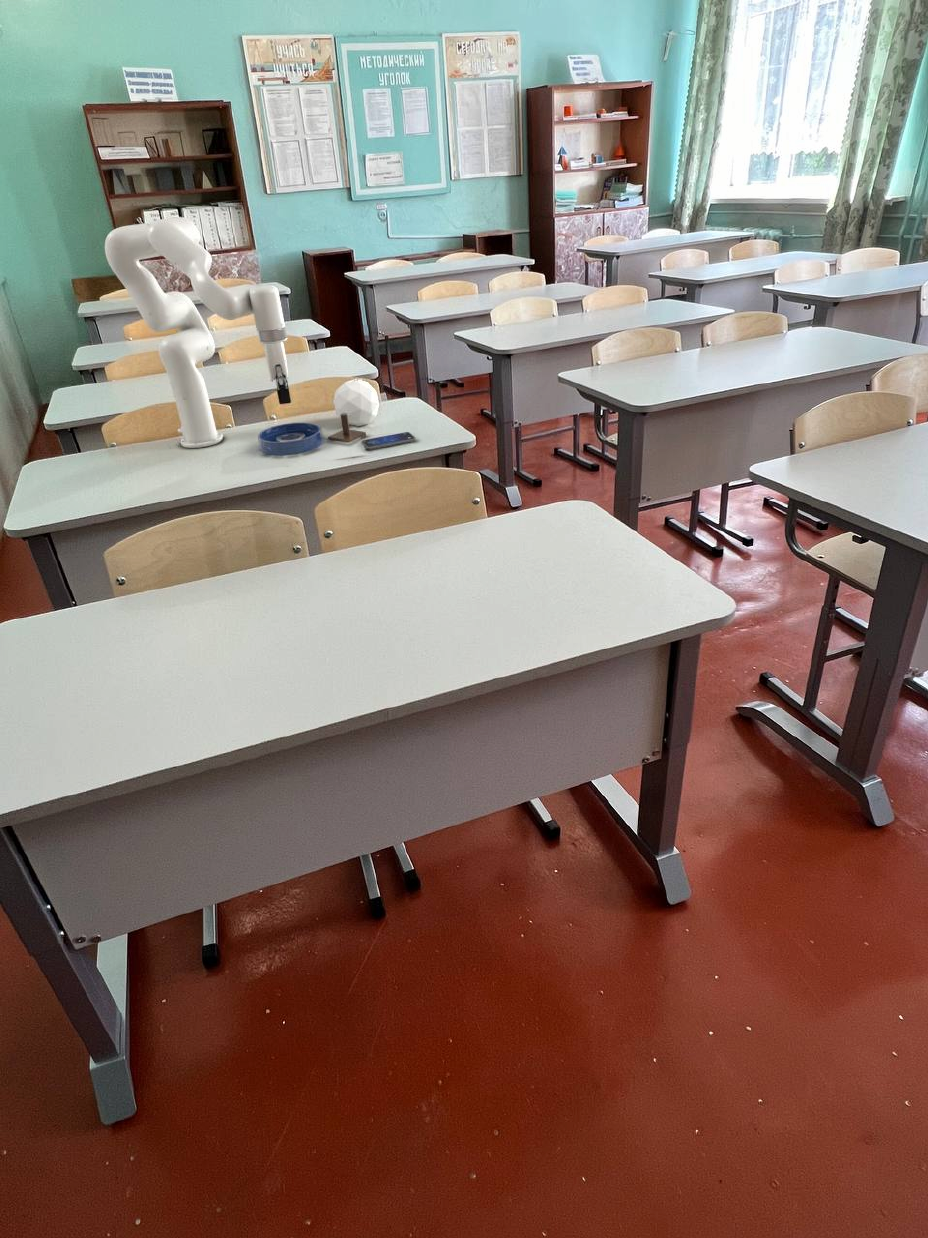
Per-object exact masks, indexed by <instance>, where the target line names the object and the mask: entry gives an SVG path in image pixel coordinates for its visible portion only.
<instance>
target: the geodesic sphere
mask: <svg viewBox="0 0 928 1238" xmlns="http://www.w3.org/2000/svg"><path fill="white" fill-rule="evenodd" d="M379 401H380V400H379V397H378V393H377V391H376V389H375V388H374V387H373V386H372V385H371V384H370V383H369V382H368V381H364V380H362V378H361V377H359V378H355V379H351V380H348V381H345V382H343V383H342V384H341V385H340V386H339V387H337V389H335V392H334V397H333V401H332V402H333V408H334V411H335V415H336V416H337V417H338V418H339V419H340V420H341V414H343V413H347V416H348V423H349V426H355V427H356V428H358V427H361V426H365V425H367V424H370V422H371V421H372V420H374V419H375V418H376V417H377V416H378V410H379V408H380V407H379V406H380V403H379Z"/></svg>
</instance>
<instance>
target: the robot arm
mask: <svg viewBox="0 0 928 1238" xmlns="http://www.w3.org/2000/svg"><path fill="white" fill-rule="evenodd" d="M200 236H201V235H200V232H199V229H198V227H197V226H196V224H195V223H194V222H193V221H191V219H188V218H186V217H183V216H175V217H167V218H162V219H158V220H156V221H152V222H145V223H137V224H130V225H124V226H120V227H116V228H115V229H112V230H111V231H110V232H109V233H108V234H107V236H106V237H105V241H104V253H105V258H106V261H107V263H108V265H109V267H110V268H111V270H112V272H113V273H114V275H116V278H117V279H118V280H119V281H120V283H121V284H122V285H123V288H125V291H127V293H128V295H129V297H130V299H131V300H132V302H133V304H134V306H135V307H136V309H137V310H138V313H139V314H140V316H141V317H142V319H143V321H144V322H145V324H146V325H147V327H148V328H149V329H150V330H151V331H153V332H155V333H163V332H168V331H171V330H175V329H177V331H176V332H174V333H172V334H169V335H167V336H165V337H164V338H163V339H162V340H161V341H160V342H159V344H158V349H157V350H158V355H159V359H160V361H161V363H162V366H163V367H164V370H165V372H166V374H167V377H168V380H169V384H170V387H171V391H172V394H173V398H174V402H175V406H176V409H177V413H178V417H179V421H180V425H181V426H180V428H178V429H177V433H178V434H182V438H181V439H180V445H181V446H182V447H183V448H187V449H199V448H206V447H210V446H214V445H216V444H218V443H221V442H222V441H223V440H224V435H223V433H221V432H219V431H217V427H216V423H215V420H214V419H215V418H214V415H213V409H212V406H211V403H210V399H209V398H210V397H209V394H208V390H207V385H206V382H205V379H204V376H203V375H202V374H201V372H200V371H199V370H198V368H197V367H196V365H197V364H200V363H203V362H205V361H208V360H210V359H211V358H212V357H213V356H214V354H215V351H216V345H215V340H214V338H213V336H212V334H211V332H210V330H209V328H208V326H207V324H206V323H205V321H204V319H203V317H202V316H201V314H200V312H199V310H198V309H197V307H196V305H195V304H194V302H193V301H192V299H191V298H190V297H189V296H187V295H186V294H185V293H183V292H180V291H177V290H176V291H175V290H173V291H168V292H164V290H163V289H162V288H161V286H160V284H159V283H158V280H157V279H156V277H155V276H154V275H153V273H152V272H151V271H150V270H148V268H147V267H145V266H144V265H143V264H141V263H140V260H146V259H152V258H157V257H163V258H164V259H166V260H167V261H168V262H169V263H170V264H172V265H173V266H174V267H176V268H177V269H178V270H179V271H181V273H183V274H184V275H185V276H186V277H187V278H189V280H190V284H191V287H192V289H193V291H194V293H195V295H196V297H197V298H198V300H199V301H200V302H201V303H202V304H203V305H204V306H205V307H207V308H208V309H209V310H210V311H212V312H213V313H214V314H215V315H217V316H218V317H220V318H222V319H223V320H227V321H234V320H237V319H241V318H243V317H247V316H251V315H253V318H254V323H255V328H256V333H257V337H258V342H259V344H261V345H263V350H264V356H265V360H266V365H267V371H268V374H269V375H268V376H269V380H270V381H271V382H274V381H275V384H276V393H277V398H278V404H279V405H286V404H291V403H292V399H291V393H290V392H291V391H290V388H289V382H288V379H289V370H288V360H287V355H286V348H285V344H284V342H286V341H288V335H287V330H286V325H285V319H284V313H283V309H282V303H281V302H282V301H281V297H280V293H279V289H278V288H277V286H276V285H272V284H262V285H257V284H255V285H254V284H249V283H244V284H240V285H235V286H231V287H228V288H224V287H223V286H222V285H221V284H219V283H218V282H217V281H215V280H214V279H213V278H212V277H211V275H210V274H209V271H210V269H211V267H212V263H213V258H212V255H211V253H210V252H209V251H208V250H207V249H205V248H204V247H203V246H202V245H201V244H200V242H201V237H200Z"/></svg>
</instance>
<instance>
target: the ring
mask: <svg viewBox="0 0 928 1238" xmlns="http://www.w3.org/2000/svg"><path fill="white" fill-rule="evenodd" d="M304 438H305V434H303V433H297V432H294V433H287V434H283V435H280V436H278V437H277V438H276V441H277V442H288V441H295V440H300V439H304ZM290 439H294V440H290Z"/></svg>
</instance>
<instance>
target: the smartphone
mask: <svg viewBox="0 0 928 1238" xmlns="http://www.w3.org/2000/svg"><path fill="white" fill-rule="evenodd" d="M416 441H417V438H416V437H415V436H414V435H413V434H412V433H411V432H409V431H404V432H400V433H395V434H387V435H383V436H378V437H377V436H376V437H372V438H368V439H361V441H360V443H361V444H362V445H363V446H364V448H365V449H366V450H368V451H372V450H376V449H381V448H388V447H392V446H398V445H403V444H407V443H412V442H416Z"/></svg>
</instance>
